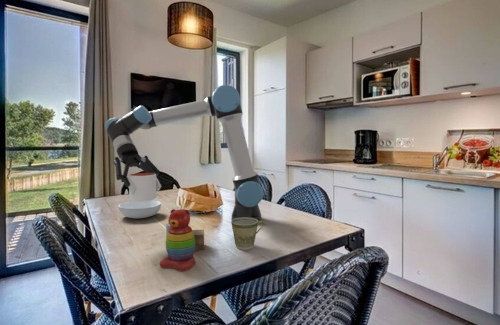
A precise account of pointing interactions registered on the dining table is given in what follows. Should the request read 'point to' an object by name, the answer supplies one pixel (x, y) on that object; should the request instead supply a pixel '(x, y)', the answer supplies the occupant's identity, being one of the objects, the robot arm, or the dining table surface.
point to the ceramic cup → (245, 232)
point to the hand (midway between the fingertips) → (147, 190)
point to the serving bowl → (139, 209)
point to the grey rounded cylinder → (167, 228)
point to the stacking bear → (179, 242)
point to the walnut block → (199, 240)
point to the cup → (143, 187)
